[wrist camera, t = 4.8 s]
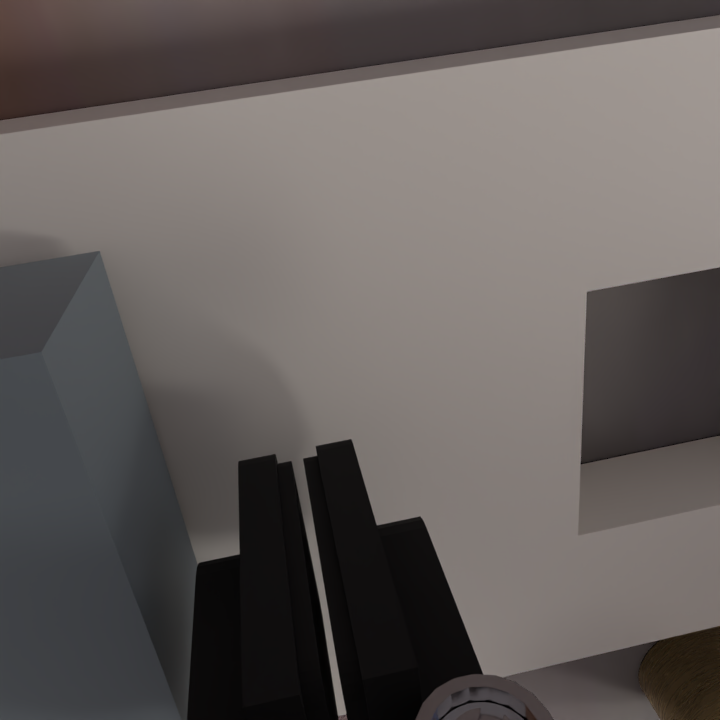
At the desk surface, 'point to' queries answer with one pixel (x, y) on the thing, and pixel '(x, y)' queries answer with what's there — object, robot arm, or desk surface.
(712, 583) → the board
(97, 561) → the housing
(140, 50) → the desk surface
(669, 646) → the pin
